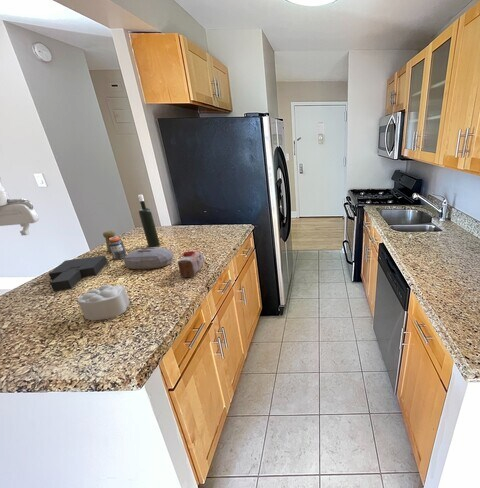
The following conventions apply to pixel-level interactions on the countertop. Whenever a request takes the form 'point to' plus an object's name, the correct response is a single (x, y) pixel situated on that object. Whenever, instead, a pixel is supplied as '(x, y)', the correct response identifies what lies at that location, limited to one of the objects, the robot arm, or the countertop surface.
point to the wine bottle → (148, 224)
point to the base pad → (81, 266)
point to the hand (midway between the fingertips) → (9, 236)
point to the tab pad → (66, 279)
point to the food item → (190, 263)
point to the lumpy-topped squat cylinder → (104, 302)
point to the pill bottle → (117, 248)
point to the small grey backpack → (148, 258)
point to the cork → (108, 235)
